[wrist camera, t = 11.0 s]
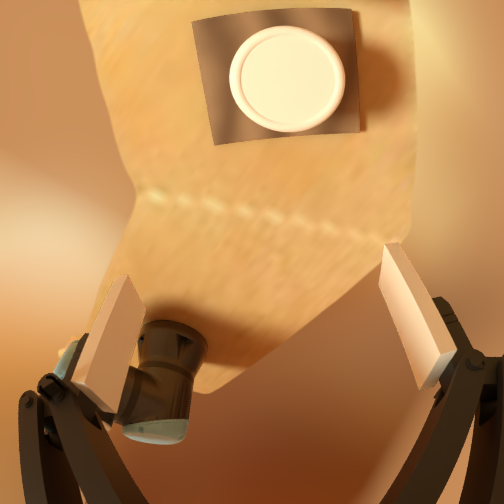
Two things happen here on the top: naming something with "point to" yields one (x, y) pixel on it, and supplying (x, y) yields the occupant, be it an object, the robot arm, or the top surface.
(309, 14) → the board
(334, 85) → the cream flat cylinder
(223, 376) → the top surface
